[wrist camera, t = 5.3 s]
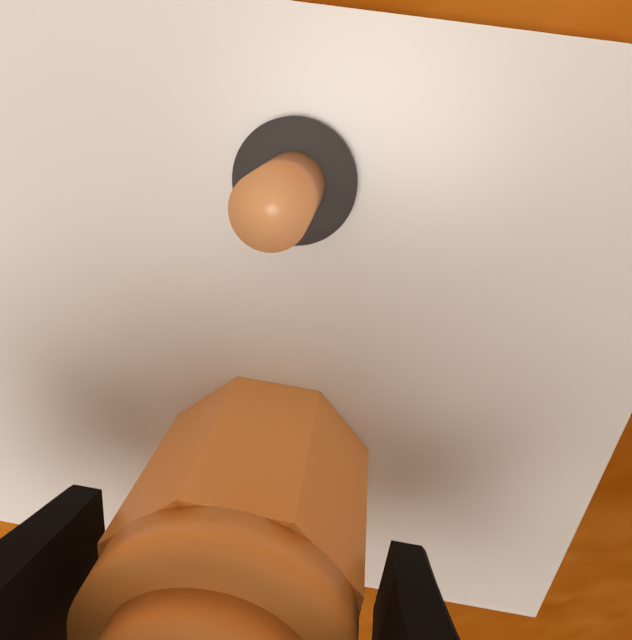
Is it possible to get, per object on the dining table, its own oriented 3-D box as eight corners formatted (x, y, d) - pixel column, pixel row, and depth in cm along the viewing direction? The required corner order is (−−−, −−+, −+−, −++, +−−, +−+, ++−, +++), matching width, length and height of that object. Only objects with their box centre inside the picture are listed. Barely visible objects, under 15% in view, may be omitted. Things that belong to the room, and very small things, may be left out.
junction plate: (746, 68, 9) (993, 50, 6) (524, 580, 15) (572, 736, 11) (-72, -37, 10) (-334, -113, 6) (18, 490, 16) (-90, 610, 12)
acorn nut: (381, 400, 12) (384, 650, 6) (346, 548, 14) (327, 828, 8) (178, 363, 12) (20, 574, 7) (173, 514, 14) (50, 767, 9)
